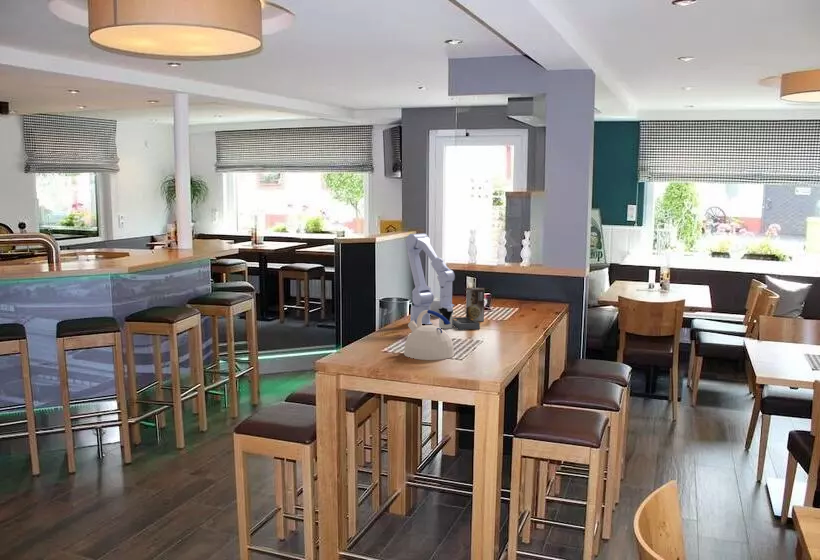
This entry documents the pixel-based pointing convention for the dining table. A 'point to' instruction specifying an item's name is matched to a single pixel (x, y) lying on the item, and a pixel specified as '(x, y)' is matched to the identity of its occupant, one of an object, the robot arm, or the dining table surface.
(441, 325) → the panel
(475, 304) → the coffee box
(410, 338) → the kettle
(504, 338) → the dining table surface
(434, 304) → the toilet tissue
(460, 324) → the rack
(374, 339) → the dining table surface
